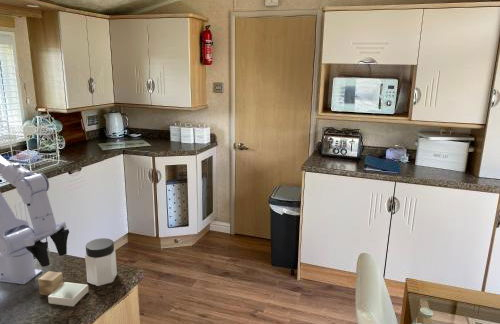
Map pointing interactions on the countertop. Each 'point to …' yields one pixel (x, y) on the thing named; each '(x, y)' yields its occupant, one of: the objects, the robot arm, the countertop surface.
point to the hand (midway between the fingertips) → (54, 260)
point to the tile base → (68, 294)
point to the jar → (100, 261)
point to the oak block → (50, 282)
